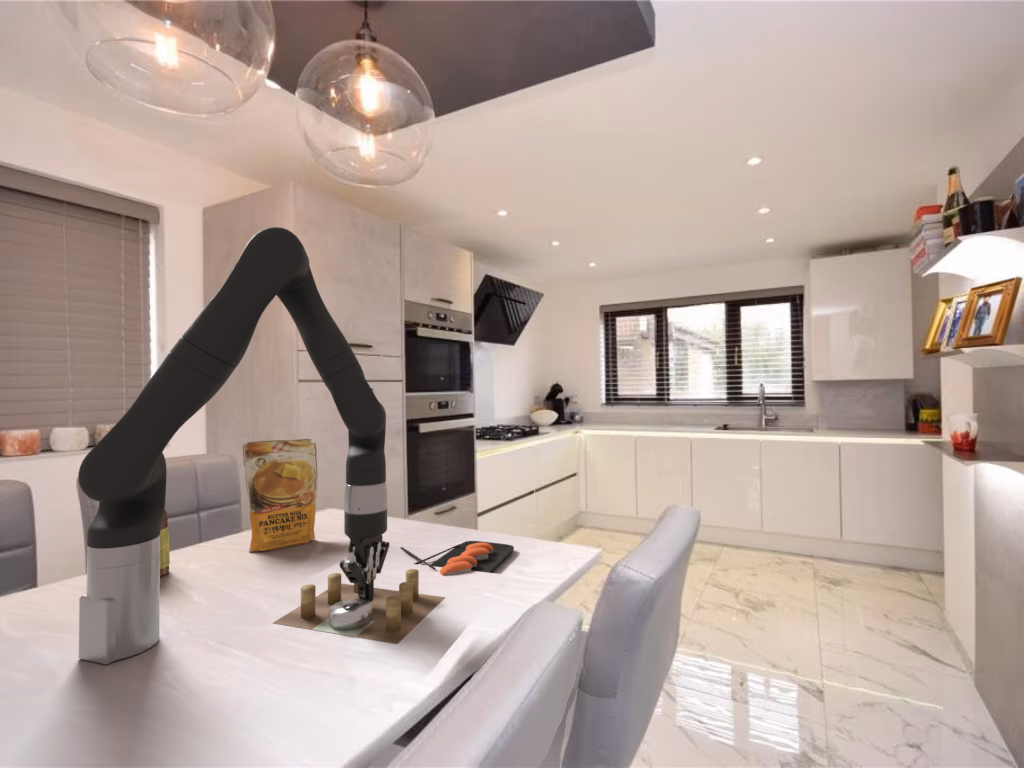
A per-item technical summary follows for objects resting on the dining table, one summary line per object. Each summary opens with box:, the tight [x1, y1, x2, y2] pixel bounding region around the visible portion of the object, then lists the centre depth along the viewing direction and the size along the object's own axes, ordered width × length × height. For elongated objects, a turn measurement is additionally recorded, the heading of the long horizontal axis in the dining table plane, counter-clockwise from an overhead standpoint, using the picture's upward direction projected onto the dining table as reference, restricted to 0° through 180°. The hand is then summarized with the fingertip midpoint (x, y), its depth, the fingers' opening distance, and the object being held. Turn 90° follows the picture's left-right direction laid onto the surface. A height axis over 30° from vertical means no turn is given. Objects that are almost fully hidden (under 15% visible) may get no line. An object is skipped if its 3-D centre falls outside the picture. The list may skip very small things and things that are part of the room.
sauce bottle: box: [160, 510, 171, 577], centre depth 109 cm, size 7×6×20 cm
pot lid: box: [329, 598, 372, 631], centre depth 84 cm, size 7×7×3 cm
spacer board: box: [272, 568, 446, 645], centre depth 89 cm, size 18×24×6 cm
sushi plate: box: [400, 540, 515, 576], centre depth 117 cm, size 29×30×4 cm
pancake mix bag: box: [242, 438, 318, 552], centre depth 130 cm, size 7×19×28 cm, turn 129°
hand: (366, 602), depth 89 cm, fingers closed
